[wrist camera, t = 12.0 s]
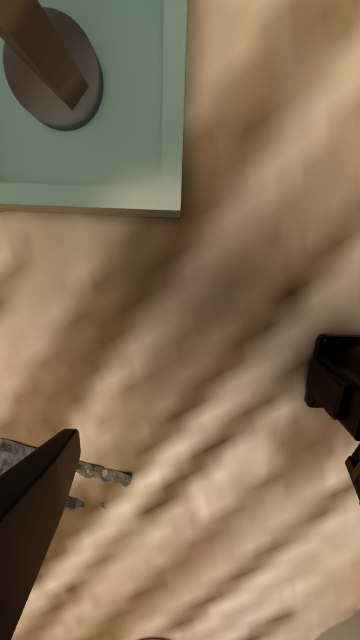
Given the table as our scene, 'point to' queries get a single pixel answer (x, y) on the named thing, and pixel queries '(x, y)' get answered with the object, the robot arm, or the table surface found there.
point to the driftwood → (9, 453)
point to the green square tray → (107, 121)
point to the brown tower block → (50, 64)
